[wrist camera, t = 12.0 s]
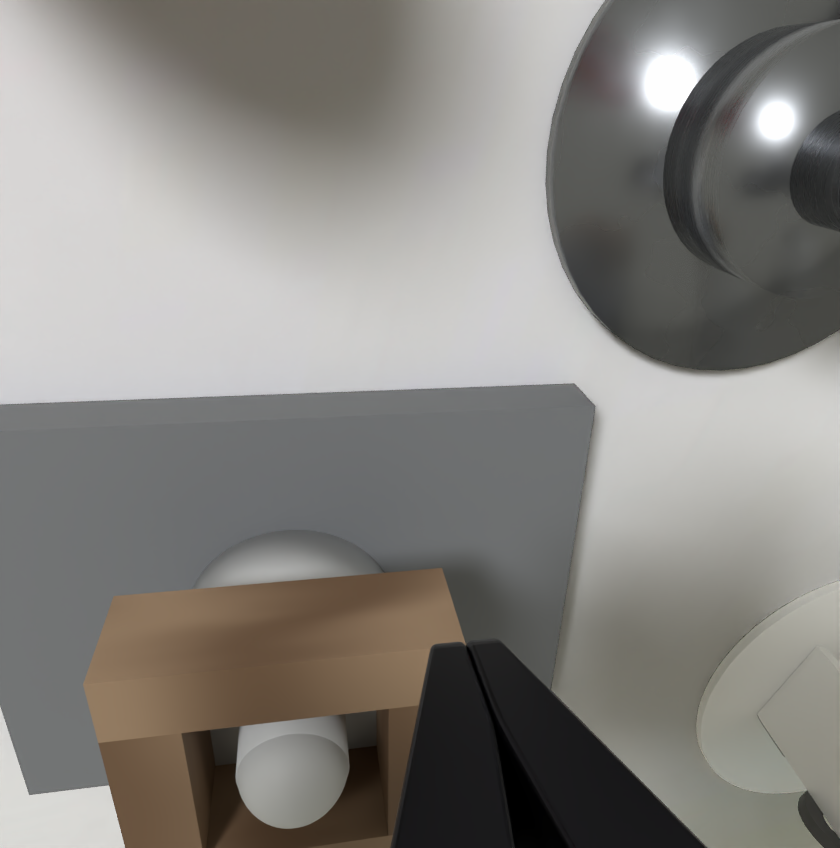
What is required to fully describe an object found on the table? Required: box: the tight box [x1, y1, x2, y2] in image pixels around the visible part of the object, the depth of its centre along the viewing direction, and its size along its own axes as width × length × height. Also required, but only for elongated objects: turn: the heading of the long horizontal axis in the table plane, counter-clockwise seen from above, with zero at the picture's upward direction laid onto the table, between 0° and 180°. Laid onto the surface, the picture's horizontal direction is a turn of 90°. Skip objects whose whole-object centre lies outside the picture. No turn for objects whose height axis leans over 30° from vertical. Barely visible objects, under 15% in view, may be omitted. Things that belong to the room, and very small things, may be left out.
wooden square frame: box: [83, 568, 466, 848], centre depth 15 cm, size 7×7×2 cm
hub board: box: [0, 384, 595, 829], centre depth 17 cm, size 16×12×8 cm
